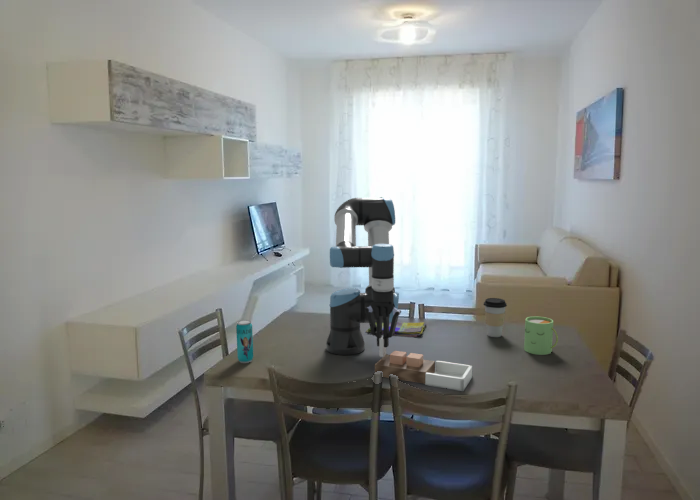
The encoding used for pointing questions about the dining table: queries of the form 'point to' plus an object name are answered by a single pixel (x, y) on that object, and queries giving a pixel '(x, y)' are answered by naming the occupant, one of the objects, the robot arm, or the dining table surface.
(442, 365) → the tray
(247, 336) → the beverage can
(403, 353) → the salmon pink block
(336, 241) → the robot arm
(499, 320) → the coffee cup
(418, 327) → the dish towel
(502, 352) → the dining table surface
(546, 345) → the mug
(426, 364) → the board
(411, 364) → the tile
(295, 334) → the dining table surface
